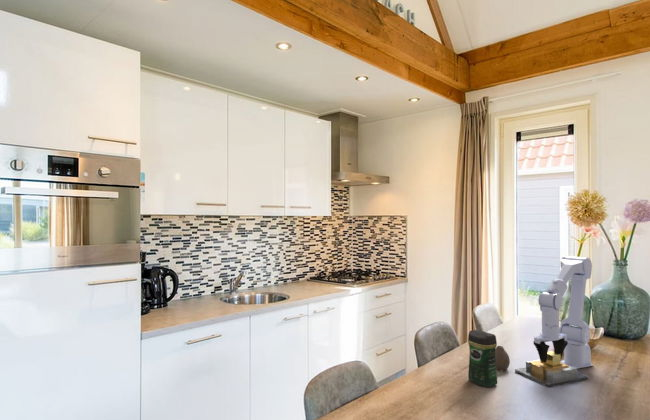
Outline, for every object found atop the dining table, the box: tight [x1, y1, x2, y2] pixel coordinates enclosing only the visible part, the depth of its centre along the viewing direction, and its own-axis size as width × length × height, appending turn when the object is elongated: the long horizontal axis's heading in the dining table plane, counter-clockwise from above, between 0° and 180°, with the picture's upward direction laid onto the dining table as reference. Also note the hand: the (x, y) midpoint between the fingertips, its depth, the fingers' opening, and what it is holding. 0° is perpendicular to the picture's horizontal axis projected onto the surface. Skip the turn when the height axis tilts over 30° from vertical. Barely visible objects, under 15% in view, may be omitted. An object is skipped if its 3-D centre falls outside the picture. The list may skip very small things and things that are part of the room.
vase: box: [495, 345, 511, 372], centre depth 159 cm, size 7×7×9 cm
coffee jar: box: [467, 329, 498, 388], centre depth 146 cm, size 10×8×19 cm
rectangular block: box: [543, 350, 562, 367], centre depth 152 cm, size 4×4×8 cm
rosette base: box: [514, 358, 589, 388], centre depth 152 cm, size 20×15×5 cm
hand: (550, 360), depth 152 cm, fingers open, 7 cm apart
